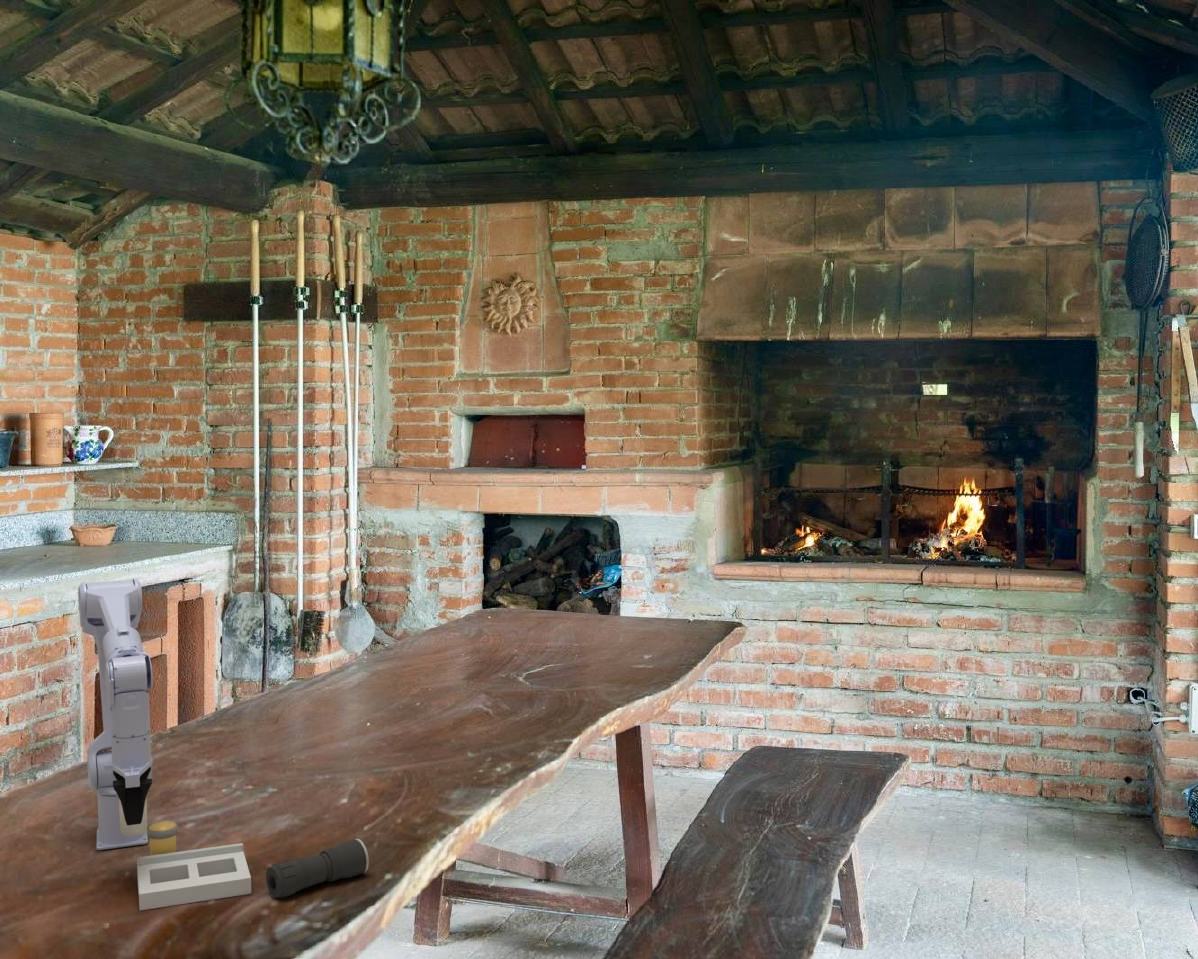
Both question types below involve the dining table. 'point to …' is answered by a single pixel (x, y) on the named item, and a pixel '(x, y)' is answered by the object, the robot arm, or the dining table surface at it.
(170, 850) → the yellow cylinder grey rim
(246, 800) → the dining table surface
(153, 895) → the housing
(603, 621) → the dining table surface
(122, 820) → the cream grey-rimmed peg
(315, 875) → the flashlight
